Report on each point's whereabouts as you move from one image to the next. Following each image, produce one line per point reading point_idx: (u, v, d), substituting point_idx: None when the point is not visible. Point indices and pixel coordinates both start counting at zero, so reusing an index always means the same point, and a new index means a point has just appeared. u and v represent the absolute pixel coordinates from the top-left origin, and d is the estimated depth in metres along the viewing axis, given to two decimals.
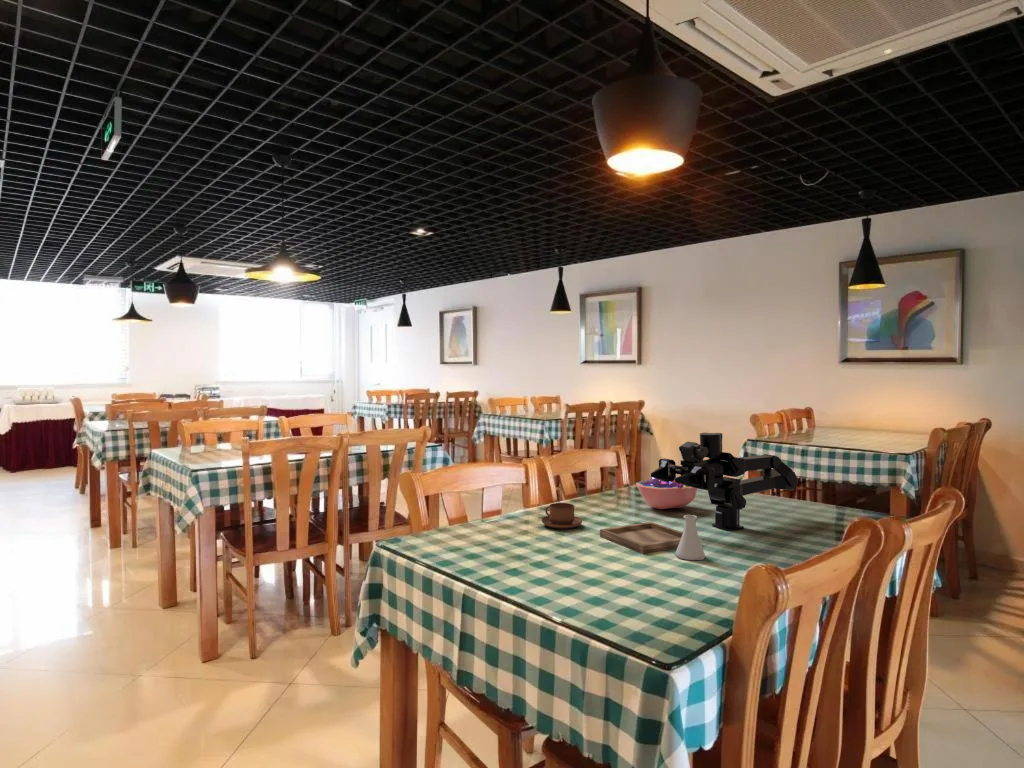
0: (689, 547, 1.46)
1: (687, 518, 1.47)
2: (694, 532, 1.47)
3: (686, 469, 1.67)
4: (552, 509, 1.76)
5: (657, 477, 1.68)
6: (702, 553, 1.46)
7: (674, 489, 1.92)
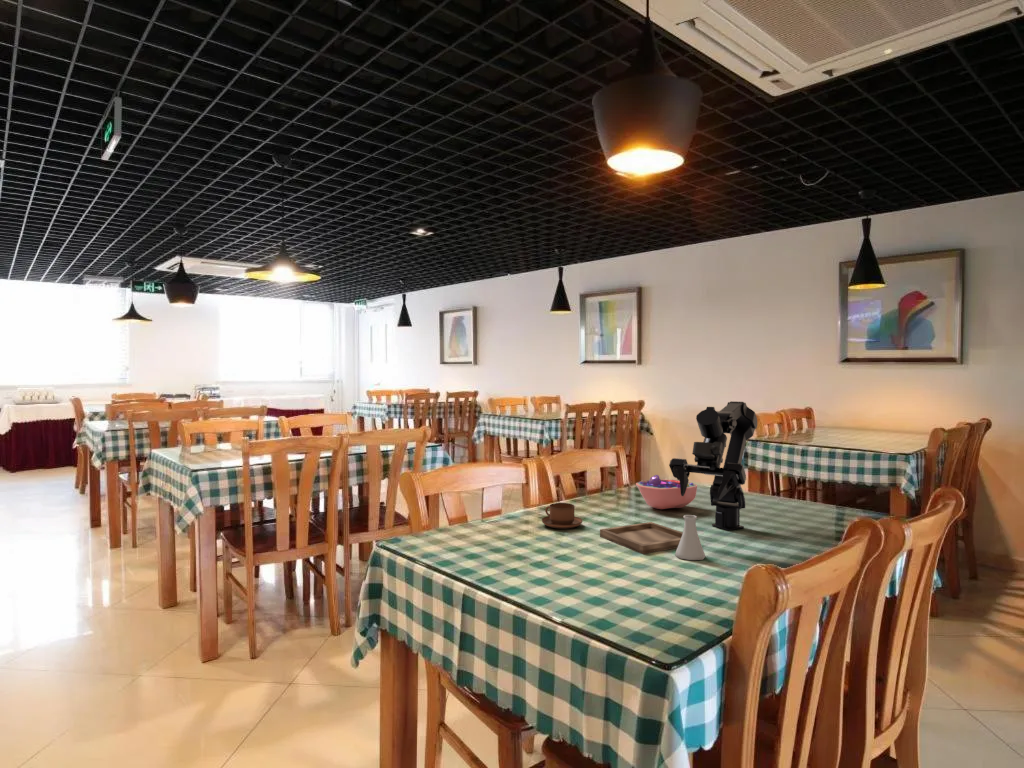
0: (689, 547, 1.46)
1: (687, 518, 1.47)
2: (694, 532, 1.47)
3: (707, 467, 1.58)
4: (552, 509, 1.76)
5: (685, 490, 1.58)
6: (702, 553, 1.46)
7: (674, 489, 1.92)
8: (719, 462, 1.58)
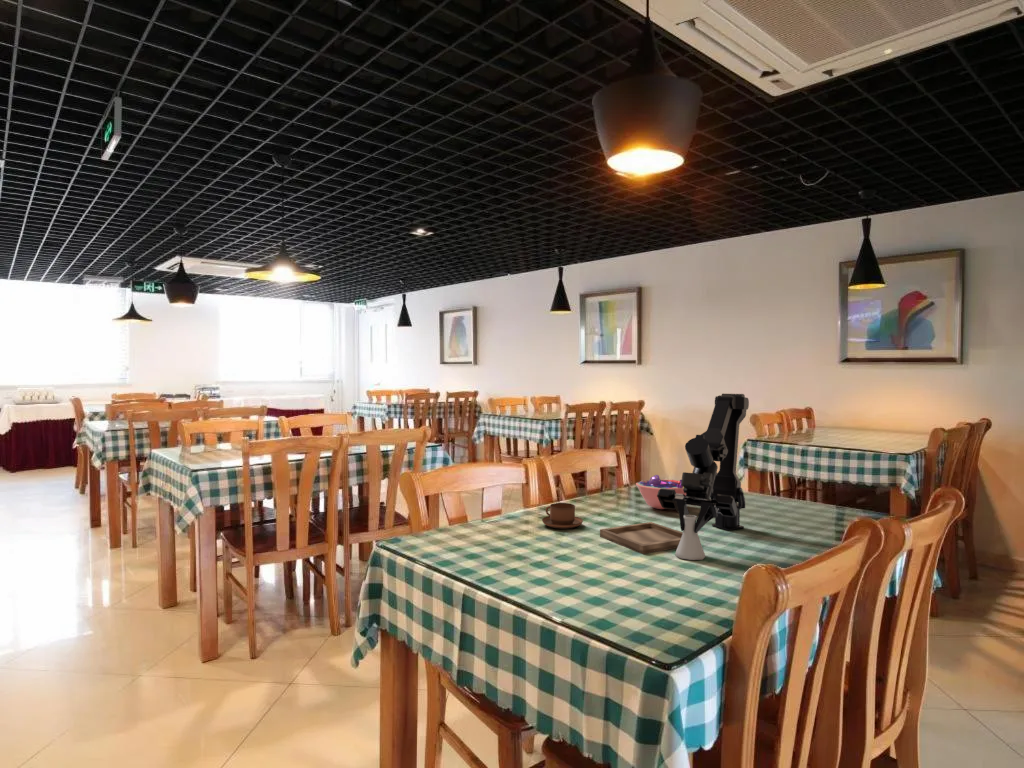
0: (689, 546, 1.46)
1: (687, 518, 1.47)
2: (694, 532, 1.47)
3: (696, 499, 1.51)
4: (552, 509, 1.76)
5: None
6: (702, 553, 1.46)
7: None
8: (709, 493, 1.51)
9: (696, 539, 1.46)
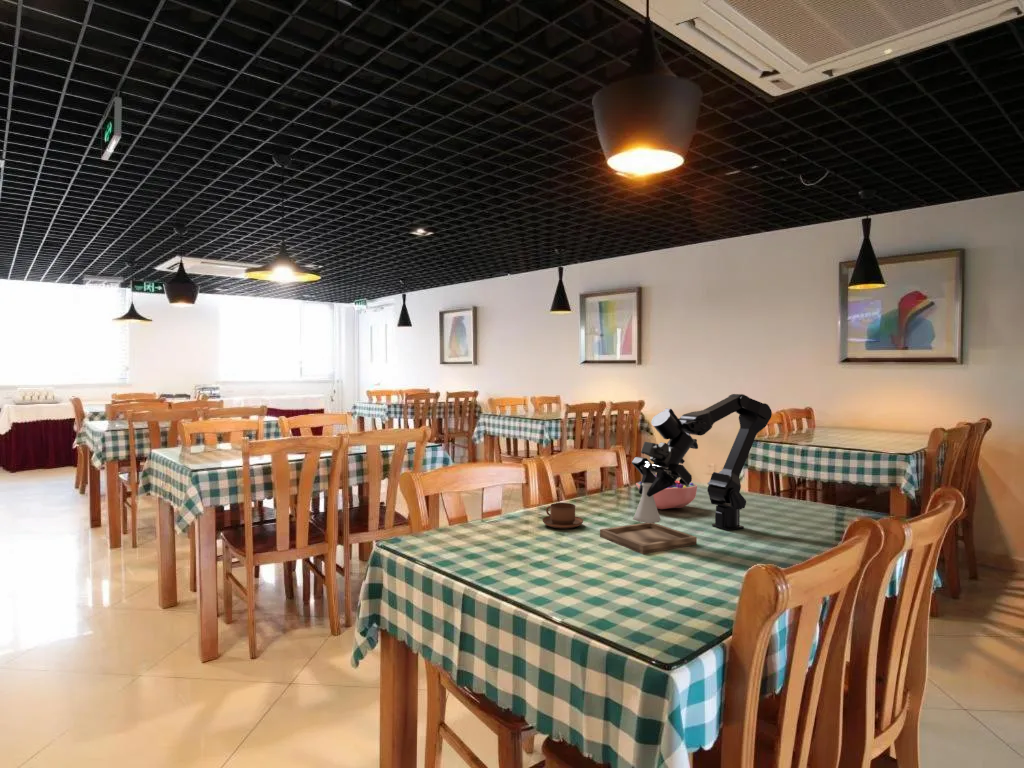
0: (641, 510, 1.61)
1: (642, 484, 1.62)
2: (648, 498, 1.61)
3: (659, 467, 1.63)
4: (553, 509, 1.76)
5: None
6: (653, 518, 1.59)
7: (674, 489, 1.92)
8: (672, 463, 1.62)
9: (648, 504, 1.60)
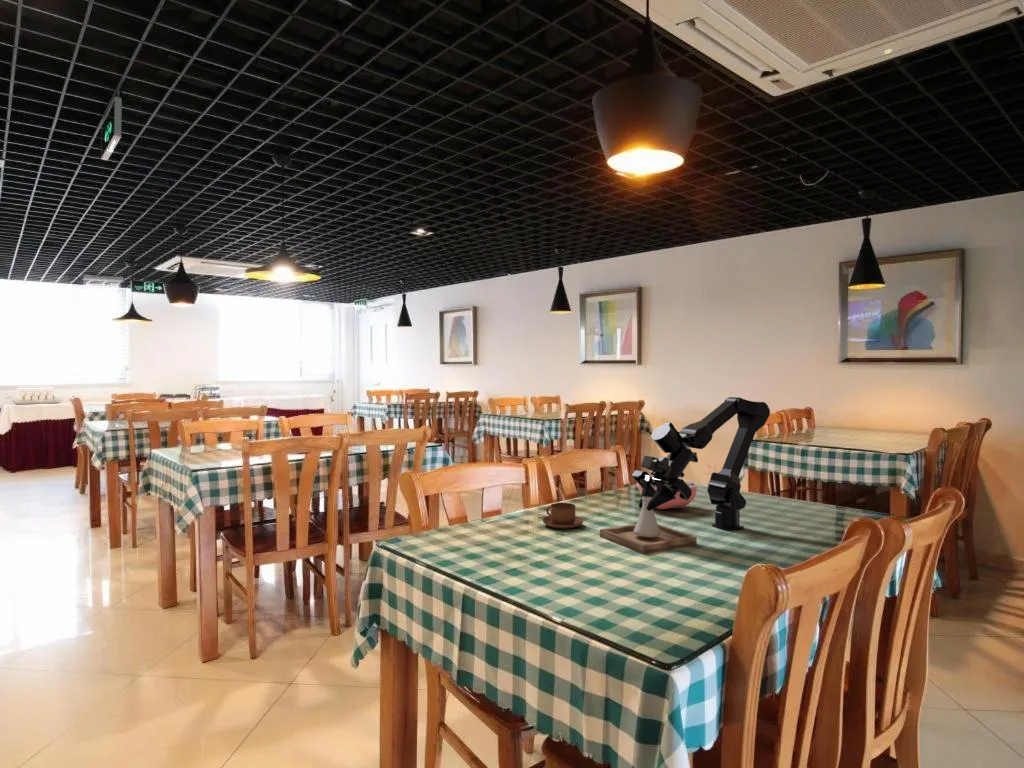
0: (641, 524, 1.61)
1: (642, 498, 1.62)
2: (648, 512, 1.61)
3: (659, 481, 1.64)
4: (553, 509, 1.76)
5: None
6: (653, 532, 1.59)
7: None
8: (672, 476, 1.62)
9: (648, 518, 1.60)
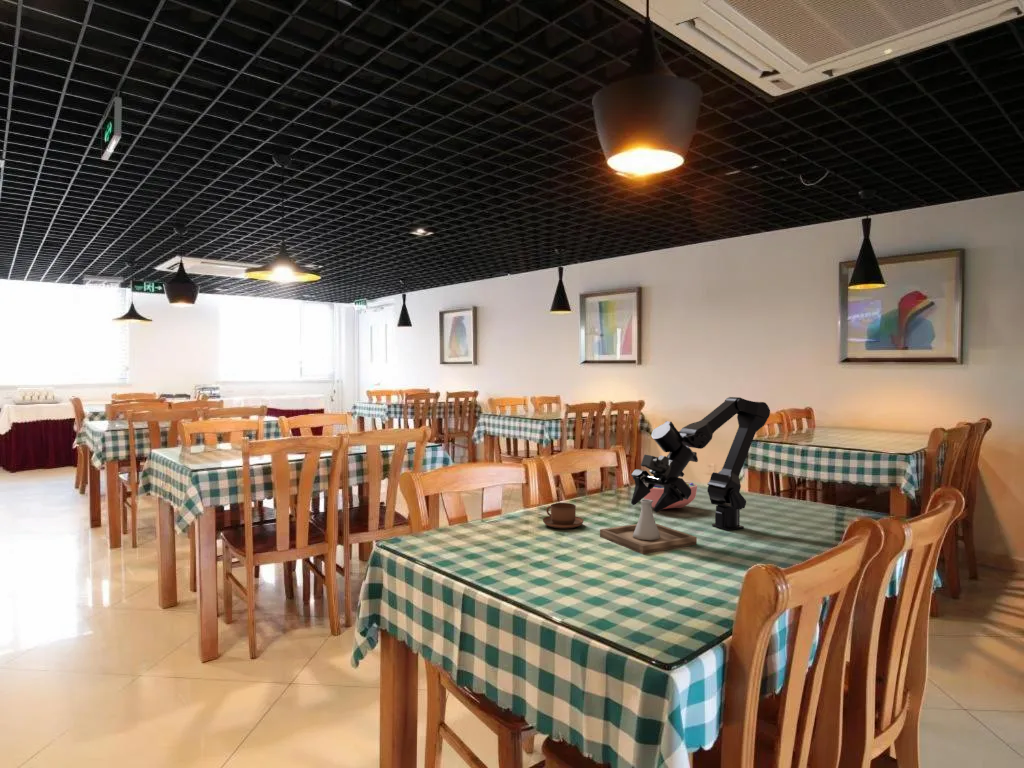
0: (640, 527, 1.61)
1: (641, 501, 1.62)
2: (647, 515, 1.61)
3: (659, 480, 1.64)
4: (553, 509, 1.76)
5: (638, 500, 1.66)
6: (653, 535, 1.59)
7: None
8: (672, 476, 1.62)
9: (648, 521, 1.60)
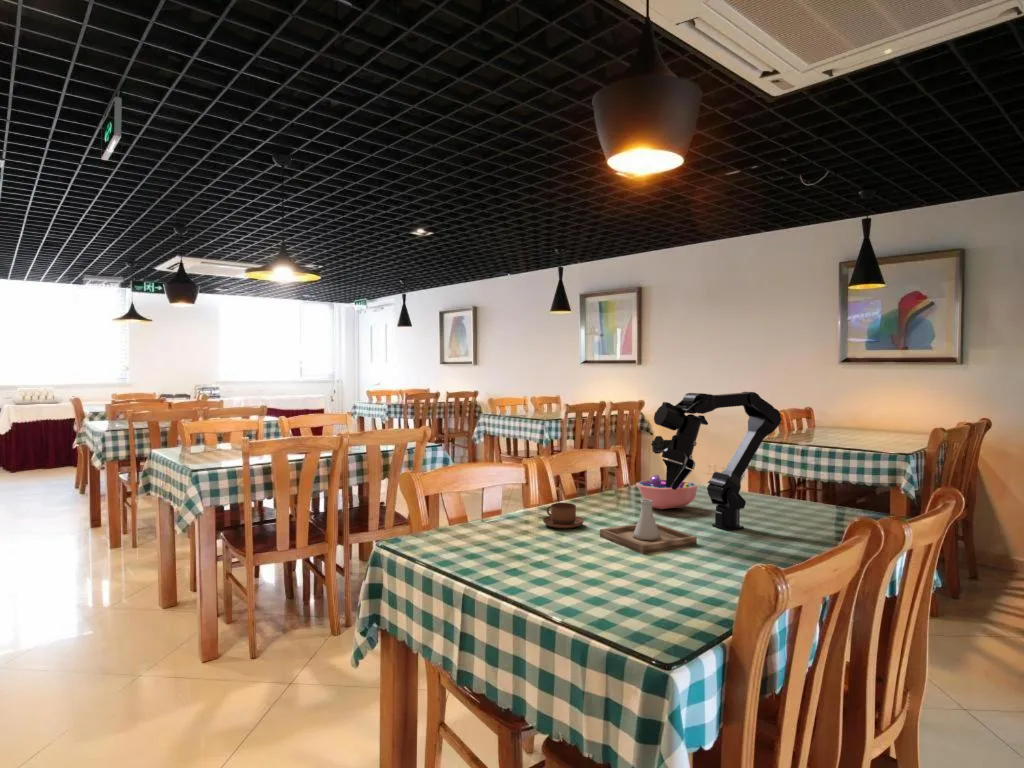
0: (640, 527, 1.61)
1: (641, 501, 1.62)
2: (647, 515, 1.61)
3: None
4: (553, 509, 1.76)
5: (679, 483, 1.73)
6: (653, 535, 1.59)
7: None
8: (678, 448, 1.68)
9: (648, 521, 1.60)
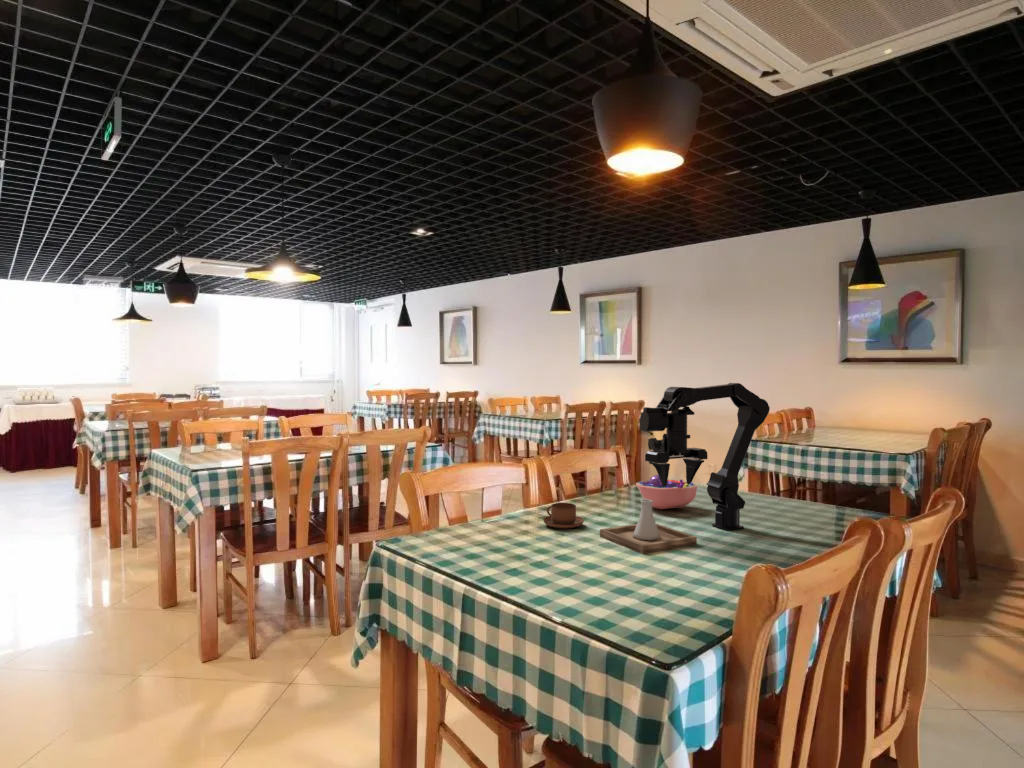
0: (640, 527, 1.61)
1: (641, 501, 1.62)
2: (647, 515, 1.61)
3: (673, 455, 1.73)
4: (553, 509, 1.76)
5: (690, 476, 1.73)
6: (653, 535, 1.59)
7: (674, 489, 1.92)
8: (668, 446, 1.71)
9: (648, 521, 1.60)
